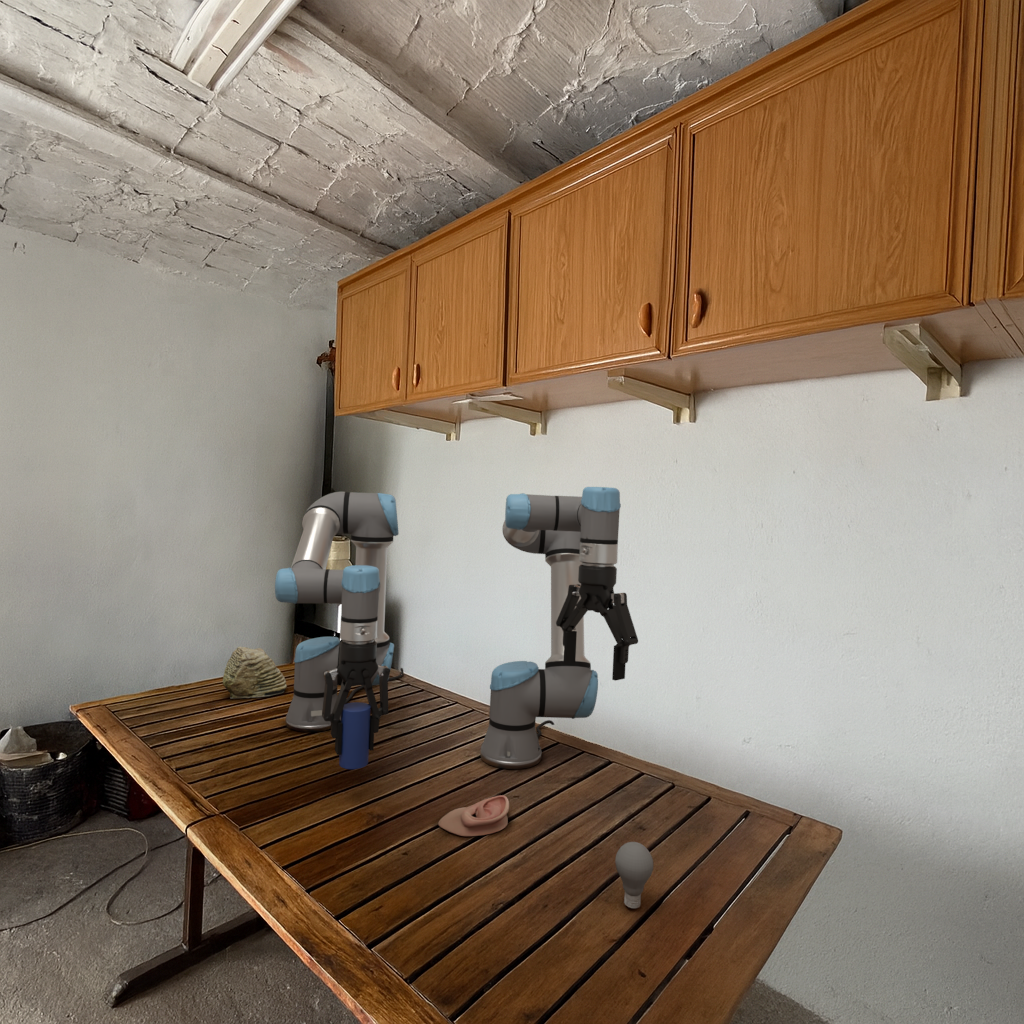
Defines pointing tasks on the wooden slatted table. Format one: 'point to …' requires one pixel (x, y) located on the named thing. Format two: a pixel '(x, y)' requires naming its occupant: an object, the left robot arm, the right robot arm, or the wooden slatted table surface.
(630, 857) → the light bulb
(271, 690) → the fossil
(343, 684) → the left robot arm
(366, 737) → the canister
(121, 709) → the wooden slatted table surface
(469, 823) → the anatomical model
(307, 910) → the wooden slatted table surface
